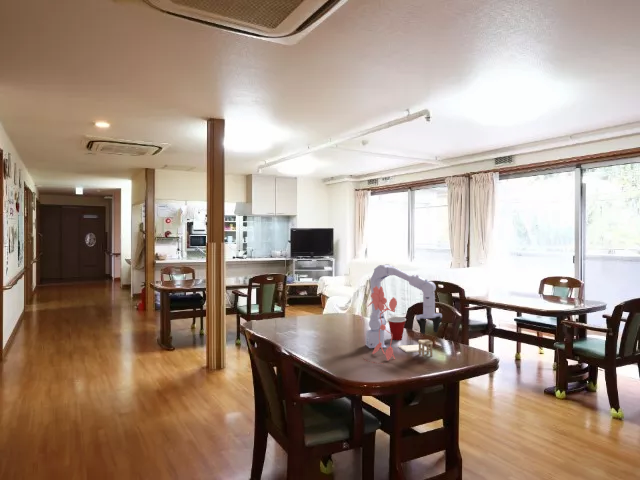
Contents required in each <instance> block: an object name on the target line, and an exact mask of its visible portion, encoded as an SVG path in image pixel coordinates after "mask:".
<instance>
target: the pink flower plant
mask: <svg viewBox="0 0 640 480" xmlns="http://www.w3.org/2000/svg"><path fill="white" fill-rule="evenodd" d="M373 291H374V293H372V294H370V297H371V298H370V299H371V302H369V304H368V305H367V307H369V306H372V303H373V304H374V307H375V310H377V309H378V308H379V310H380V311H381V312H382V313H384V312H386V311H390V312H393V313H395V312H396V310H395V309H396V307H397V304H398V301H397V299H396V298H395V297H392V298H391V299H390V300H389V302H388V299H387V298H386V297H385V293H384V289H383V287H382V286H381V287H380V289H378V287H377V286H375V288H373ZM372 299H373V301H372ZM386 303H389V304H388V306H387V304H386ZM382 313H380V319H381V314H382ZM381 324H382V319H381ZM386 327H387V326H386V325H381V326H380V329H381V330H384V331H386V332H387V333H388V334H390V335H391V333H390V331H389V330H387V328H386ZM380 329H379V344H378V345H377V346H376V347H375V348H373V351H372V355H374V354H376V353H377V352H380V351H382V353H383V355H385V357H386V360H387V361H390V359H391V358H392V357H393V359H394V360H396V357H395V355H394V350H393V349H394V348H393V347H392V346H391V345H392V341H393V340H392V337H391V336H390V337H391V338H390V343H389V346H388V347H387V348H386V350H385V351H384V348H382V346H381V345H382V343H380ZM392 336H393V334H392ZM380 347H381V350H380ZM362 359H363V360H364V361H366V362H370V363H371V360H370V361H369V360H367V359H364V358H363V356H362ZM372 363H373V364H376V362H375V361H372ZM379 364H380V365H381V364H382V365H384V363H383V362H382V363H381V362H379Z"/></svg>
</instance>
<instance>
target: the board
mask: <svg viewBox="0 0 640 480" xmlns="http://www.w3.org/2000/svg"><path fill="white" fill-rule="evenodd" d="M398 348H399V349H400V350H402V351H403V352H405V353H419V344H410V345H409V344H408V345H398ZM421 348H422V344H421ZM429 352H430V350H429ZM421 353H422V351H421ZM424 353H427V346H425V345H424Z"/></svg>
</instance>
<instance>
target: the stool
mask: <svg viewBox="0 0 640 480" xmlns="http://www.w3.org/2000/svg"><path fill="white" fill-rule="evenodd" d="M417 342H418V345H419V352H418V355H421V356H422V357H423V358H424V357H425V352H424V346H425V345H426V348H427V352H426V355H429V356H430V357H433V344H434V343H433V341H432V340H431V339H418V341H417ZM421 345H422V348H421ZM429 350H430V351H429ZM421 351H422V352H421Z"/></svg>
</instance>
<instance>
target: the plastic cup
mask: <svg viewBox="0 0 640 480" xmlns="http://www.w3.org/2000/svg"><path fill="white" fill-rule="evenodd" d="M386 321H387V322H388V326H389V332H390V333H391V334H390V333H389V334H390V337H392V341H402V340H403V335H404V330H405V324H406V321H407V318H405V317H401V316H390V317H388V318H387V319H386ZM392 334H393V336H392Z"/></svg>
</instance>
